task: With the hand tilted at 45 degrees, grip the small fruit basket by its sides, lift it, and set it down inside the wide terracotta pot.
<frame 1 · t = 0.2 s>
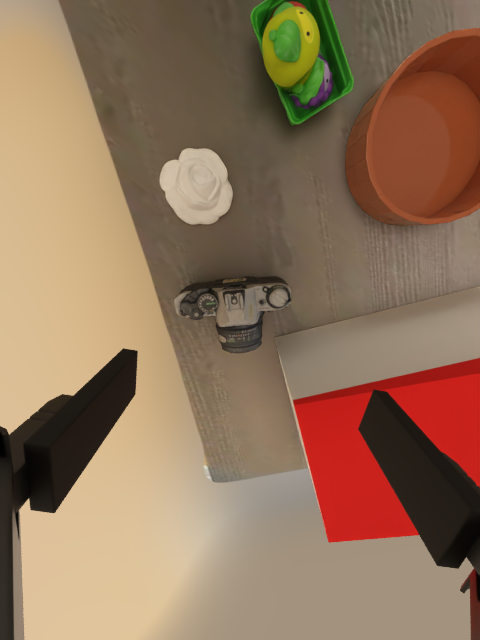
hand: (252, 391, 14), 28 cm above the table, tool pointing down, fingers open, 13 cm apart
fruit basket: (290, 82, 33), on the table
rose: (198, 189, 37), on the table
camera: (236, 306, 42), on the table
bookstore: (386, 365, 45), on the table
pot: (413, 153, 35), on the table
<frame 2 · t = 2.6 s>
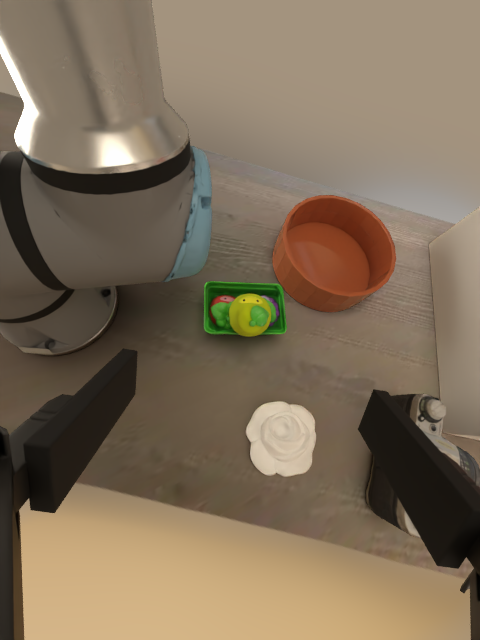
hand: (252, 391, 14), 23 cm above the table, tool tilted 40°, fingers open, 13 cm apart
fruit basket: (240, 323, 41), on the table
rose: (279, 436, 36), on the table
camera: (400, 457, 37), on the table
pot: (322, 264, 46), on the table
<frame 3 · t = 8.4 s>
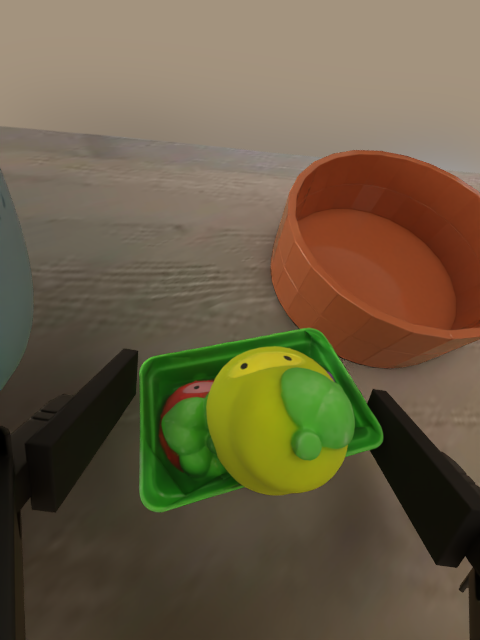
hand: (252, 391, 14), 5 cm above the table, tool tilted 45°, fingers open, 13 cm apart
fruit basket: (250, 442, 17), point 1 cm above the table, touching gripper
pot: (363, 276, 25), on the table
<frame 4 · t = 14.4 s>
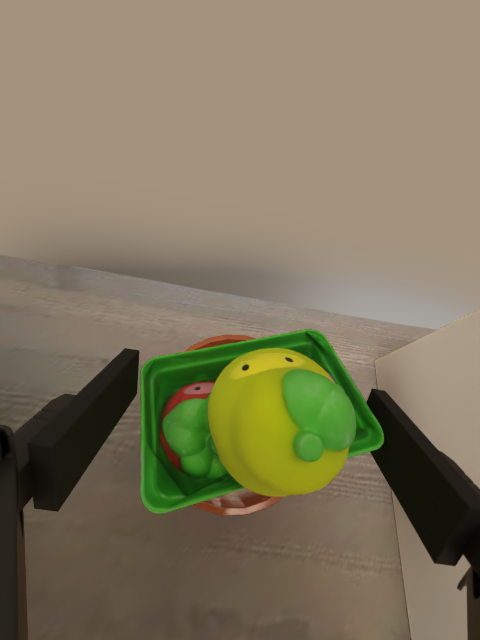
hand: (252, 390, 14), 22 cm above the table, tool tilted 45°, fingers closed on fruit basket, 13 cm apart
fruit basket: (251, 443, 17), point 18 cm above the table, touching gripper
bookstore: (467, 500, 33), on the table
pot: (230, 417, 34), on the table
when the fingers open (6 cm above the table, at t = 19.9 s): fruit basket stays where it is, resting on pot.
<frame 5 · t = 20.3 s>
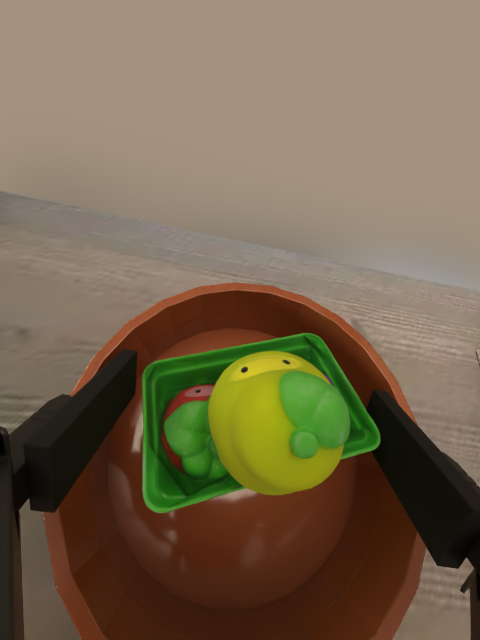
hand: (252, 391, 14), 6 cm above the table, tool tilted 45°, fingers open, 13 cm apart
fruit basket: (251, 445, 17), point 2 cm above the table, touching gripper, pot
pot: (237, 440, 19), on the table
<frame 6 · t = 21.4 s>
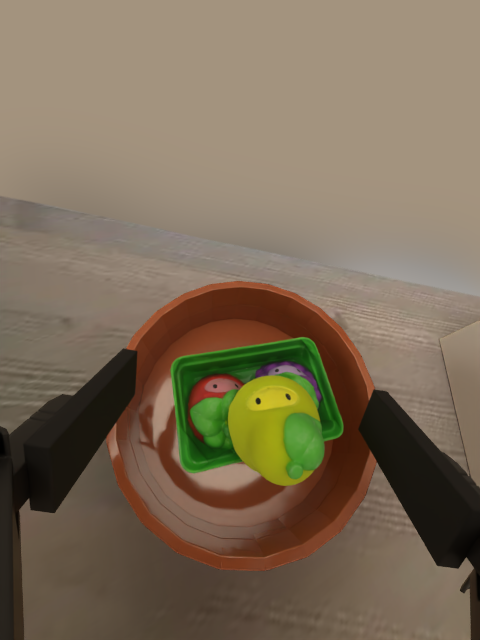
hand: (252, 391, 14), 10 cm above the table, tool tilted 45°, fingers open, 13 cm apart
fruit basket: (248, 413, 23), resting on pot
pot: (239, 406, 23), on the table
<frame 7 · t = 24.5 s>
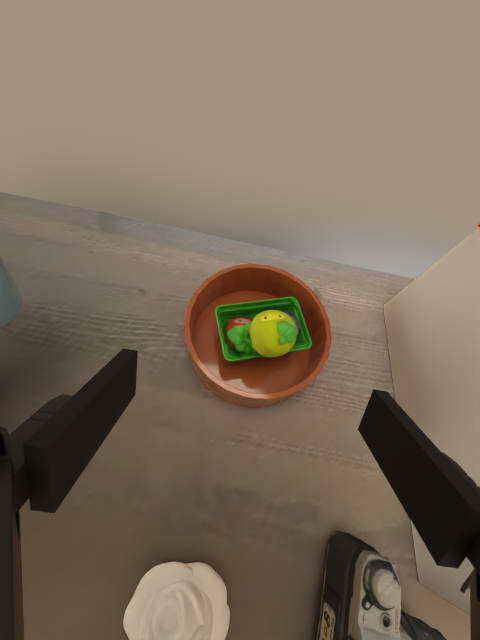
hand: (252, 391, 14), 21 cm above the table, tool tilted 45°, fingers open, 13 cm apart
fruit basket: (257, 345, 37), resting on pot
rose: (177, 616, 25), on the table
camera: (358, 633, 26), on the table
bookstore: (466, 423, 36), on the table
pot: (251, 342, 38), on the table
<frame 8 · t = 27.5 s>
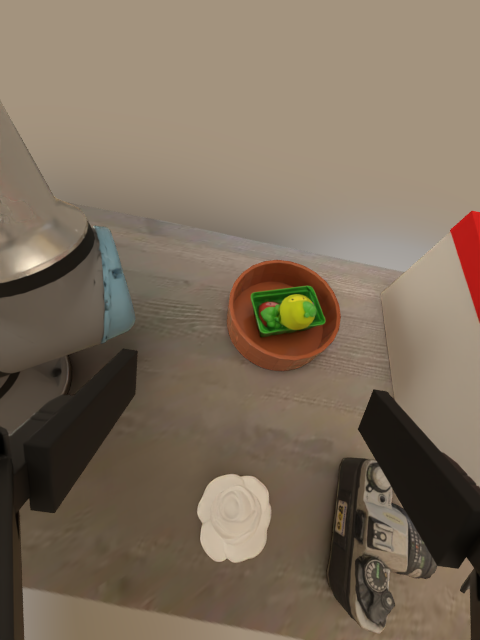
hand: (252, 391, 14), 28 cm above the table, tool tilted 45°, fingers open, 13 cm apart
fruit basket: (281, 324, 47), resting on pot
rose: (233, 512, 35), on the table
camera: (362, 526, 36), on the table
bookstore: (445, 385, 46), on the table
pot: (276, 322, 48), on the table
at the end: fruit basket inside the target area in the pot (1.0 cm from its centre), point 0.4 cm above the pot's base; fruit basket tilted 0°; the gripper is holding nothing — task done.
